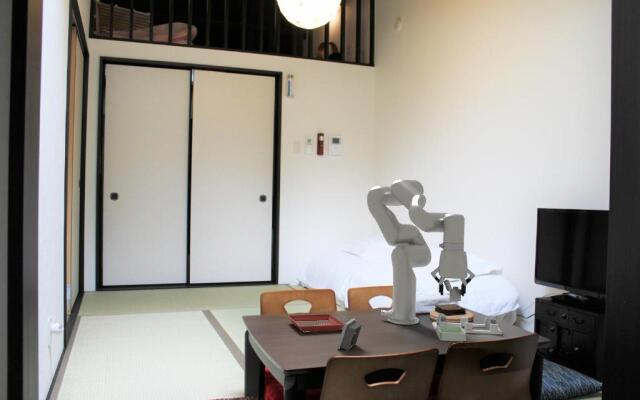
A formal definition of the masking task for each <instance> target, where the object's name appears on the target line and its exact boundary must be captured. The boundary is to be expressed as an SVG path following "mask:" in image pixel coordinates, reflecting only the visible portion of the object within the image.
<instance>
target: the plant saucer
mask: <svg viewBox="0 0 640 400" xmlns="http://www.w3.org/2000/svg"><path fill="white" fill-rule="evenodd" d="M287 317H288V320H290V321H291V323H292V325H293V326H295V327H296V326H297V327H298V328H299V329H300V332H302V331H304V332H305V331H325V332H331V331H330V330H339V331H340V330H342V329H343V328H344V325H345V323H344V322H342V321H341V320H340V319H338V318H336V317H335V316H333V315H332V314H331V313H320V314H293V315H291V314H290V315H288V316H287ZM317 320H318V321H319V320H328V321H329V322H330V323H331V324H330V323H328V324H327V323H326V324H325V323H323V324H322V323H321V324H319V325H314V326H303V325H302V326H300V325H299V324H298V323H296V322H295V321H317ZM297 327H296V328H297ZM298 328H297V329H298ZM299 329H298V330H299Z"/></svg>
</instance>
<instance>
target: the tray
mask: <svg viewBox="0 0 640 400" xmlns="http://www.w3.org/2000/svg"><path fill="white" fill-rule="evenodd" d="M463 329H464V328H463V327H461V326H448V325H436V330H435V333H436V335H437V337H438V340H439V341H445V342H446V341H447V342H462V341H466V342H467V333H465V331H464V330H463Z"/></svg>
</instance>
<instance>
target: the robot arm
mask: <svg viewBox="0 0 640 400" xmlns="http://www.w3.org/2000/svg"><path fill="white" fill-rule="evenodd" d="M424 189H425V188H424V186H423V184H422V183H421V182H420V181H418V180H415V179H397V180H395V181H393V182H392V184H391V185H390V186H388V185H385V186H384V185H380V186H374V187H372V188H371V189H369V191H368V193H367V195H366V204H367V205H366V206H367V209H368V210H369V213H370V214H371V216H372V218H373V219H374V220H375V221H376V224H377V225H378V228H379V231H380V232H381V234H382V235H383V237H384V239H385V242H386V243H387V244H388V245H389V246H390V247H394V248H393V249H392V252H391V255H390V257H391V265H392V304H391V305H392V306H391V309H389V310H380V314H381V316H384V317H387V320H388V322H390V323H392V324H396V325H407V326H410V325H411V326H412V325H417V324H418V323H420V319H419V318H418V317H416V308H417V307H416V305H417V304H416V303H417V301H416V300H417V275H416V273H415V272H414V269H413V268H423V267H426V266H428V265H430V263H431V262H432V252H431V249H430V247H429V246H428V243H427V242H426V239H425V237H424V236H423V234H422V233H421V231H422V232H424V233H443V237H442V243H439V244H438V247H439V248H441V249H442V250H440V255H439V260H438V261H439V262H438V267H436V268H435V269H434V270H432V271H431V272H430V275H431V276H432V278H433V279H434V280H435V281H436V282H437V284H438V293H439V294H440V296H444V288H445V287H444V286H445V284H444V282H443V281H445V280H446V279H455V280H457V279H459V280H461V284H460V289H461V297H465V294H467V286H468V284H469V283H471V281H472V280H473V279H474V278H475V277H476V275H475V273H473V272H472V271H471V269H469V268H468V267H469V266H468V255H467V252H466V251H464V250H465V224H466V223H465V222H466V221H465V220H466V219H465V216H464V215H463V214H459V213H458V214H457V213H448V212H428V211H427V210H425V206H426V204H427V198H426V196H425V195H424V191H425V190H424ZM388 206H391V207H397V206H398V207H400V206H404V208H406V209H407V210H408V217H409V220H410V221H411V222H412V223H413V224H410V223H407V224H406V223H405V224H404V223H401V222H400V221H399V220H398V218H397V215H396V214H395V213H394V212H393V210H392V209H390V208H388ZM436 274H438V275H439V276H440V277H438V276H437V275H436ZM468 275H469V276H468Z"/></svg>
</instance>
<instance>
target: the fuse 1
mask: <svg viewBox="0 0 640 400" xmlns="http://www.w3.org/2000/svg"><path fill="white" fill-rule="evenodd" d="M437 316H438V325H440V321H443V322H447V317H446V315H445V313H438V315H437Z"/></svg>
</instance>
